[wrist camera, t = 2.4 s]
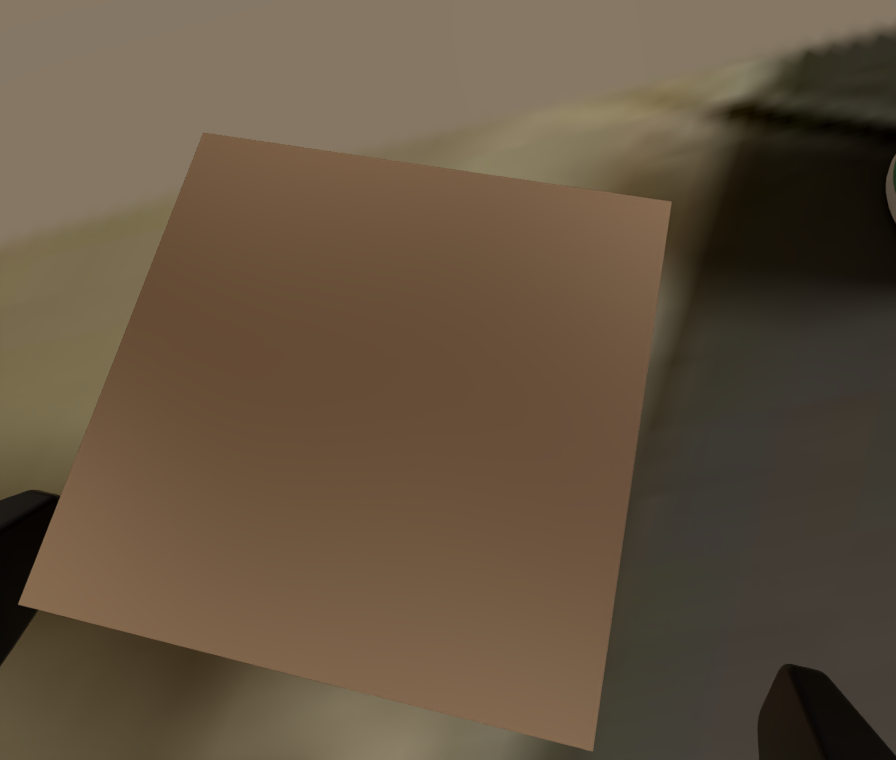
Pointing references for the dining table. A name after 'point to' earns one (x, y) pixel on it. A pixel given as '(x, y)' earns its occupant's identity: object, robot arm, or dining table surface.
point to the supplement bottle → (891, 188)
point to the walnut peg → (373, 433)
